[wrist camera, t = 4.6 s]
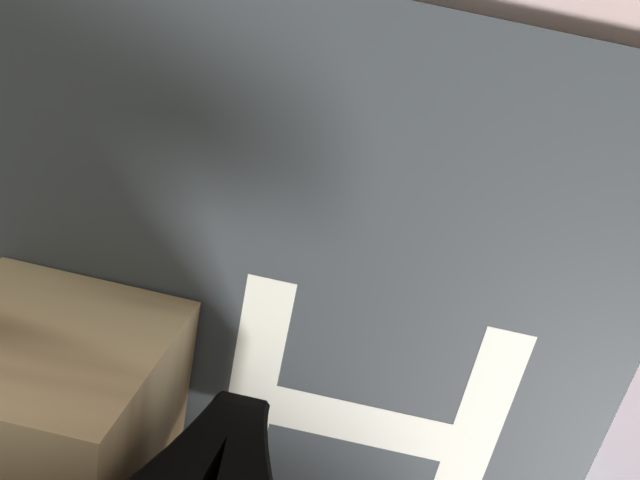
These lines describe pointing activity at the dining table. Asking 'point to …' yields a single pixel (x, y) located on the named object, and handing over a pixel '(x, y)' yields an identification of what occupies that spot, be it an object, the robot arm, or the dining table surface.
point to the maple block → (88, 374)
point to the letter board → (347, 216)
